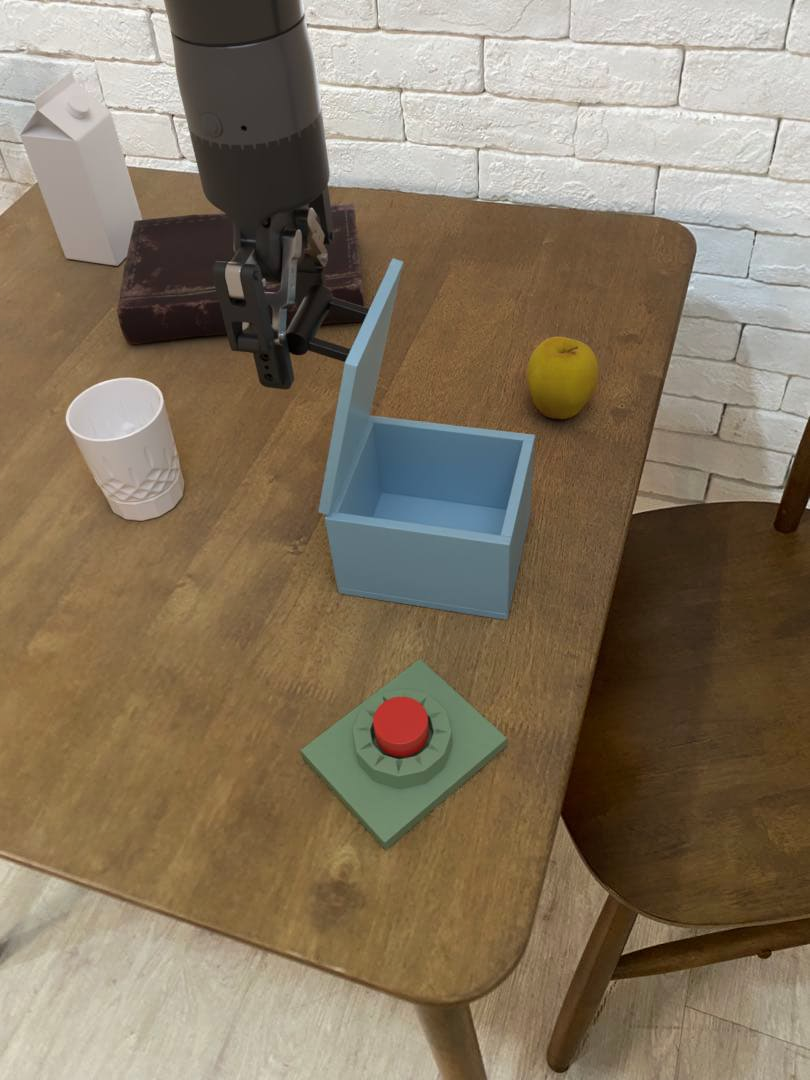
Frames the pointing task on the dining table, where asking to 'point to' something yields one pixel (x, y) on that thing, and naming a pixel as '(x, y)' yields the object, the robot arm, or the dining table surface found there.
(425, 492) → the box
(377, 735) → the button
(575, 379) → the apple
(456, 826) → the dining table surface
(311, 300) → the lid
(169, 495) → the white cup
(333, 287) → the diary
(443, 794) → the green button base
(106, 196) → the milk carton
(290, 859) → the dining table surface
